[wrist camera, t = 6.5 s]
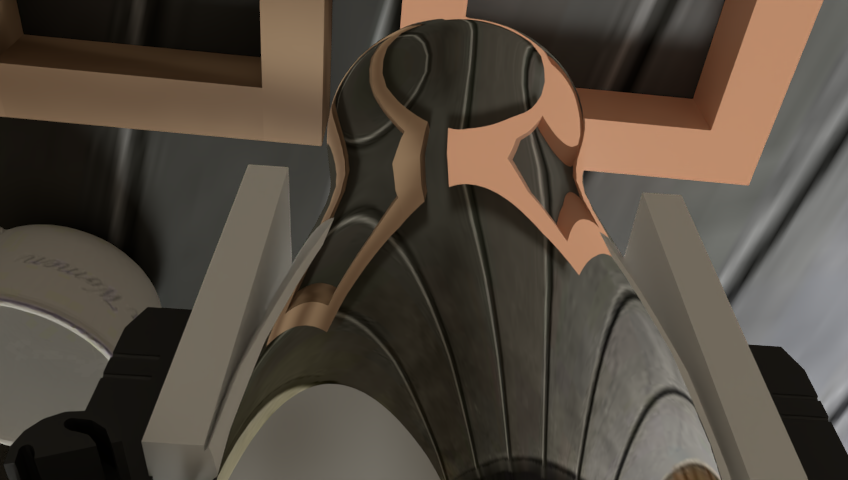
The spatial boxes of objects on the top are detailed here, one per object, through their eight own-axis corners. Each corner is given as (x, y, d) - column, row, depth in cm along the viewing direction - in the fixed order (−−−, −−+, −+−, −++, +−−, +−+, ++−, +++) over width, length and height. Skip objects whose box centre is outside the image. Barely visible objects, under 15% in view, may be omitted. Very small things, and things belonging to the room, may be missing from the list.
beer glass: (278, 16, 17) (-130, 858, 5) (601, -27, 16) (1023, 837, 4) (343, 264, 21) (202, 1059, 9) (603, 239, 20) (825, 1066, 8)
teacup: (212, 329, 45) (173, 441, 38) (47, 365, 47) (-16, 477, 40) (83, 119, 37) (7, 215, 31) (-109, 173, 39) (-218, 274, 32)
